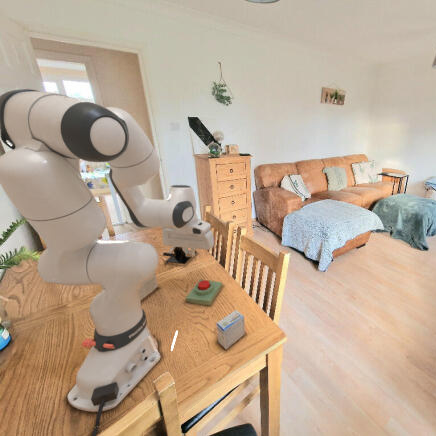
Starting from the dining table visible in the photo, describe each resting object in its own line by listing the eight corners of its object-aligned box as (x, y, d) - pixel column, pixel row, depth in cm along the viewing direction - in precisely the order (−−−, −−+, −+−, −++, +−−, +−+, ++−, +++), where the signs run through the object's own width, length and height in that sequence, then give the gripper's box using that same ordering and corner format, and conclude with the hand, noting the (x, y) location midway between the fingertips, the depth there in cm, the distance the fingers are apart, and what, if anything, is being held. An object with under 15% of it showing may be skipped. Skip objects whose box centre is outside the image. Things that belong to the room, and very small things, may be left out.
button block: (209, 305, 93) (209, 297, 92) (186, 302, 95) (184, 294, 93) (222, 286, 104) (221, 278, 103) (200, 283, 106) (199, 276, 104)
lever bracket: (184, 266, 117) (181, 241, 112) (166, 263, 118) (161, 239, 113) (197, 253, 128) (194, 230, 123) (179, 251, 129) (176, 228, 124)
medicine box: (237, 327, 84) (235, 309, 81) (245, 335, 82) (244, 315, 78) (217, 342, 78) (215, 322, 75) (226, 350, 76) (224, 330, 73)
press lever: (175, 258, 112) (173, 255, 110) (164, 256, 113) (162, 254, 111) (186, 237, 120) (184, 234, 118) (176, 236, 121) (174, 233, 119)
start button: (206, 291, 96) (206, 287, 95) (196, 289, 96) (196, 286, 96) (211, 284, 100) (211, 280, 99) (201, 282, 100) (201, 279, 100)
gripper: (156, 226, 90) (162, 257, 96) (207, 231, 88) (210, 262, 94) (166, 220, 96) (171, 249, 101) (214, 224, 94) (217, 254, 99)
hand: (190, 256), depth 98 cm, fingers closed
